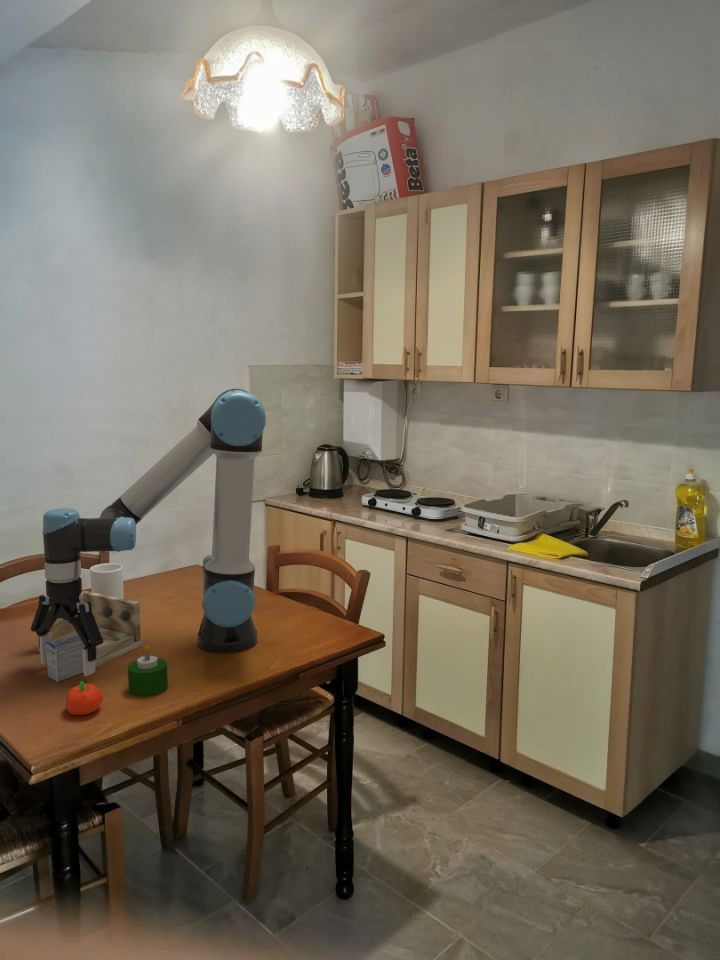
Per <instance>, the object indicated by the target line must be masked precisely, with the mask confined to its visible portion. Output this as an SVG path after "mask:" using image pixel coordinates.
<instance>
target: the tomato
mask: <svg viewBox="0 0 720 960" xmlns="http://www.w3.org/2000/svg"><path fill="white" fill-rule="evenodd" d="M65 699H66V703H65V707H66V709H67V711H68V712H69V714H70V715H74V716H84V715H88V714H92V713H94V712H95V711H97V709H98V708H99V707H100V705H102V703H103V701H104V694H103V692H102V691H101V690H100V689H99V688H98V687H97V686H96V685H94V684H92V683H84V681H82V680H81V681H80V683H79V685H75V686H74V687H72V688H70V689H69V690H68V692H67V695H66V698H65Z"/></svg>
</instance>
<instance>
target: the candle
mask: <svg viewBox="0 0 720 960" xmlns="http://www.w3.org/2000/svg"><path fill="white" fill-rule="evenodd" d="M143 654H144V655H143V656H140V657H139V658H138V659H135V660H133V661H131V662H130V663H129V664H128V665H127V681H128V682H127V686H128V692H129V694H130V695H131V696H133V697H139V698H149V697H150V698H151V697H154V696H158V695H160V694H163V693H165V692H166V691H167V689H168V688H169V687H168V685H169V684H168V679H169V678H168V661H167V660H165V659H163V658H160V657H157V656H155V655H151V648H150V645H148V644H147V645H145V646H144V648H143Z"/></svg>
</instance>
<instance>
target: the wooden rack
mask: <svg viewBox="0 0 720 960" xmlns="http://www.w3.org/2000/svg"><path fill="white" fill-rule="evenodd" d="M79 600H80V602H81V603H86V602H90V603H91V608H92V613H93V616H94V618H95V621H96V623H97V626H98V629H99V631H100V634H101V636H102V639H103V644H100V645H98V646H96V660H95V669H96V668H98V667H100V666H102V665H103V664H106V663H108V662H110V661H112V660H114V659H117V658H119V657H121V656H123V655H125V654H127V653H130V652H131V651H134V650H135V649H137V648H139V647H141V646H142V639H141V638H142V637H141V635H142V634H141V613H140V611H141V609H140V601H136V600H131V599H126V598H124V599H122V598H117V597H112V596H107V595H102V594H98V593H93V592H91V591H88V590H82V593H81V594H80V596H79ZM37 608H38V606H36V607H35V612H36V611H37ZM50 609H51V606H50V608H49V610H50ZM48 612H49V611H48ZM75 617H77V614H76V616H75ZM49 631H50V632H48V633H51V635H52V640H53V639H56V638H59V637H62V636H66V635H69V634H73V633H76V630H75V628H74V627H73V625H72V624H70V623H69V622H68V620H64V619H63V618H58V619H57V620H56V621H55V623H54V624H53V626H52V627H51V629H50V630H49ZM48 633H47V634H48ZM36 636H37V637H38V635H37V634H36ZM89 642H90V641H89ZM37 649H38V651H37V652H38V653H40V648H39V639H38V638H37Z"/></svg>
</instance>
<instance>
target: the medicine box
mask: <svg viewBox="0 0 720 960" xmlns="http://www.w3.org/2000/svg"><path fill="white" fill-rule="evenodd" d="M84 647H85V645H84V643H83V642H82V640H81V638H80V637H79V635H78V633H77V632H76V633H73V634H69V635H66V636H62V637H59V638H56V639H53V640H49V641H47V642H46V651H47V663H46V664H47V676H48V678H49V679H51V680H53V681H55V682H57V683H59V682H61V681H64V680H67V679H70V678H74V677H75V676H79V675H81V674H84V671H83V648H84Z"/></svg>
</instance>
